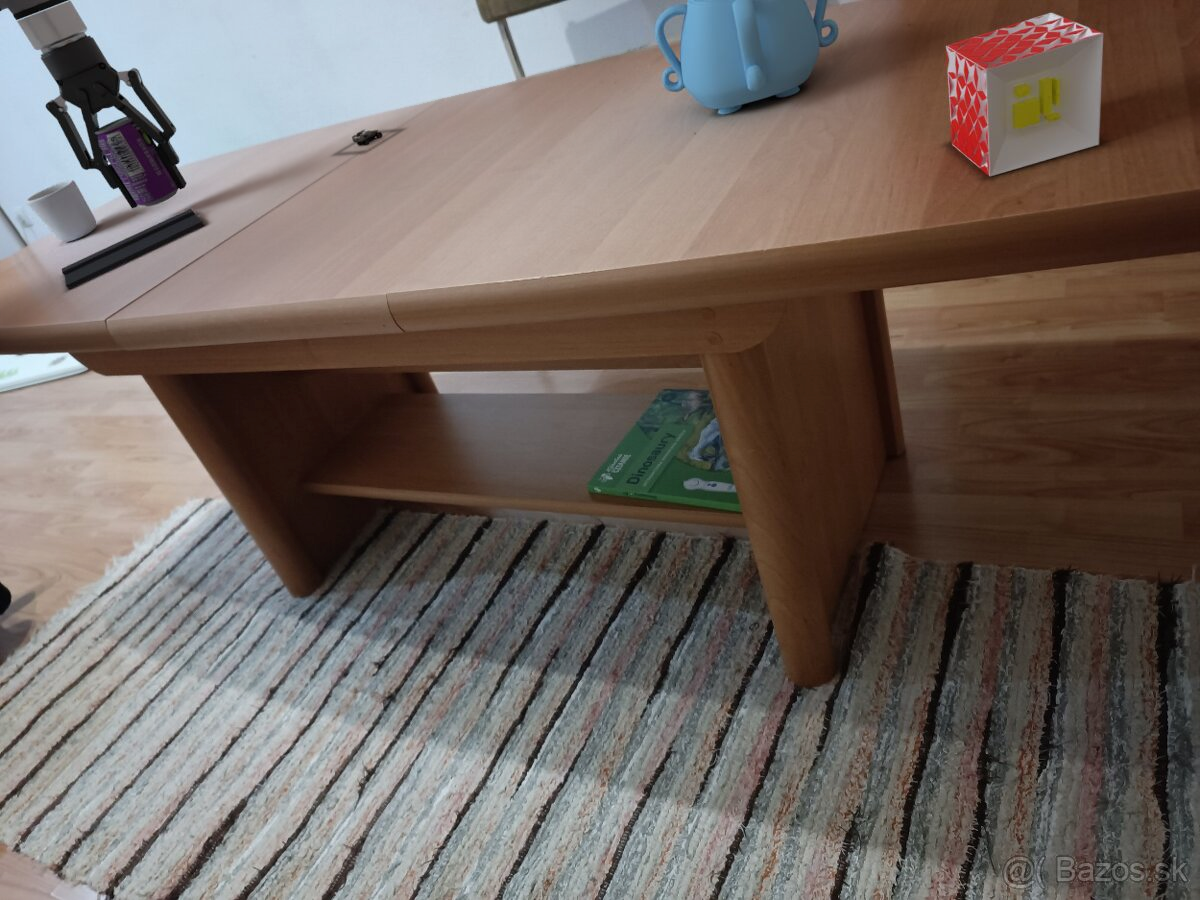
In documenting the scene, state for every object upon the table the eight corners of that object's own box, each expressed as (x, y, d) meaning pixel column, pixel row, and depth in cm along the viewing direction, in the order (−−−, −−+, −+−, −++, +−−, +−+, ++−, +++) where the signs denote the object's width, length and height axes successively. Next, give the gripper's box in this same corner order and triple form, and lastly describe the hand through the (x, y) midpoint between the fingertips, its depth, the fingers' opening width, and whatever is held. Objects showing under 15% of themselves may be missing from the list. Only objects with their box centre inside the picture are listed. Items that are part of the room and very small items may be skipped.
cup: (66, 232, 151) (36, 189, 147) (110, 214, 152) (81, 171, 147) (52, 251, 142) (19, 206, 138) (99, 232, 143) (67, 187, 138)
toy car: (383, 136, 136) (377, 123, 135) (364, 147, 134) (358, 134, 133) (373, 137, 138) (367, 124, 137) (354, 147, 136) (348, 135, 135)
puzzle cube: (989, 176, 65) (985, 69, 61) (951, 145, 72) (945, 45, 67) (1100, 144, 64) (1104, 32, 60) (1051, 114, 70) (1052, 12, 66)
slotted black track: (69, 290, 120) (63, 282, 119) (66, 273, 128) (61, 266, 127) (204, 225, 126) (199, 218, 125) (194, 214, 133) (189, 206, 133)
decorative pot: (657, 118, 101) (624, -6, 94) (755, 63, 107) (732, -58, 99) (753, 128, 89) (725, -14, 81) (859, 65, 94) (842, -74, 86)
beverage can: (191, 187, 135) (146, 111, 128) (155, 208, 131) (106, 130, 124) (167, 190, 139) (121, 116, 132) (131, 211, 135) (82, 135, 128)
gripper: (136, 14, 125) (222, 165, 138) (3, 65, 124) (103, 213, 137) (126, 19, 119) (218, 177, 132) (-13, 73, 118) (93, 227, 131)
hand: (159, 195), depth 135 cm, fingers closed on beverage can, 7 cm apart
